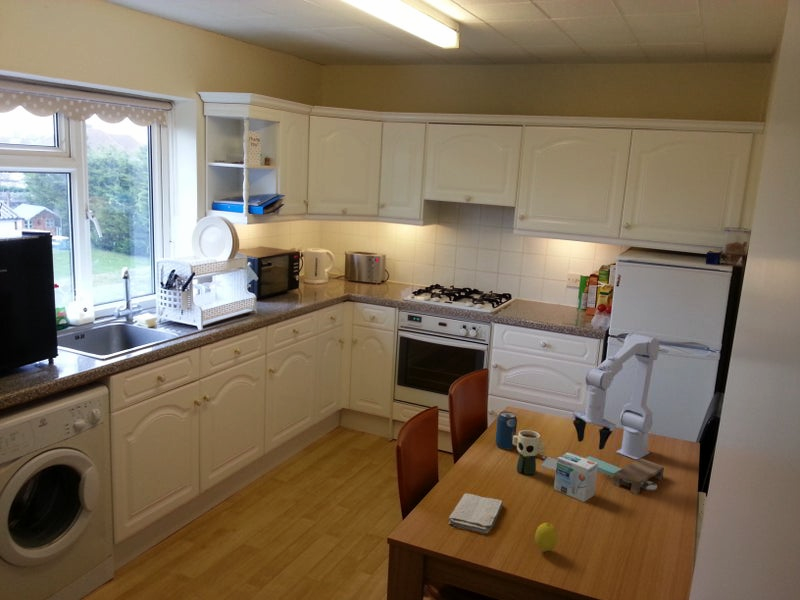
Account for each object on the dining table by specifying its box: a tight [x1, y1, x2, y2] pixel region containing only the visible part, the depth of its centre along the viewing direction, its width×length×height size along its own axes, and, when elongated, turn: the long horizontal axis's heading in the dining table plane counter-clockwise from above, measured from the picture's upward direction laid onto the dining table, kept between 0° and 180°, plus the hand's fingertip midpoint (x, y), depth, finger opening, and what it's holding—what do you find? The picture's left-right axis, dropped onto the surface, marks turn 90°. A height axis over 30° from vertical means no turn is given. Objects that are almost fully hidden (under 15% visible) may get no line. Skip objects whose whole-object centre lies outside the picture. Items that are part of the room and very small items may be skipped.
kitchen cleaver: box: [535, 453, 557, 471], centre depth 222 cm, size 24×1×10 cm
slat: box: [585, 455, 632, 484], centre depth 219 cm, size 6×18×2 cm, turn 43°
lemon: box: [534, 522, 558, 553], centre depth 169 cm, size 6×6×8 cm
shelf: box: [612, 457, 665, 495], centre depth 212 cm, size 18×8×4 cm, turn 134°
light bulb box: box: [553, 451, 598, 503], centre depth 202 cm, size 11×7×11 cm, turn 47°
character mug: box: [513, 429, 546, 475], centre depth 214 cm, size 11×7×13 cm, turn 59°
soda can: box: [495, 410, 518, 450], centre depth 234 cm, size 7×7×12 cm
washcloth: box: [448, 493, 503, 535], centre depth 185 cm, size 12×18×3 cm, turn 160°
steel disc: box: [640, 480, 658, 492], centre depth 209 cm, size 5×5×1 cm
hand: (590, 444), depth 215 cm, fingers open, 7 cm apart
